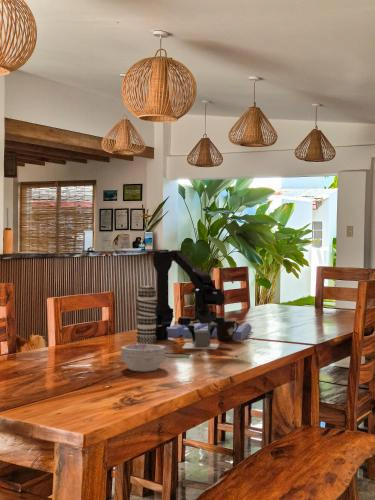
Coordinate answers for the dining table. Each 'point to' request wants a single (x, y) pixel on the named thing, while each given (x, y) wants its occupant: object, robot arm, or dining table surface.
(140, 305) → the leaning tower model
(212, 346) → the post stand
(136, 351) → the paper bowls
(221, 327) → the coffee mug
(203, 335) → the gray cube
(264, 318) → the dining table surface
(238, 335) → the blocks
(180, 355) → the mat
